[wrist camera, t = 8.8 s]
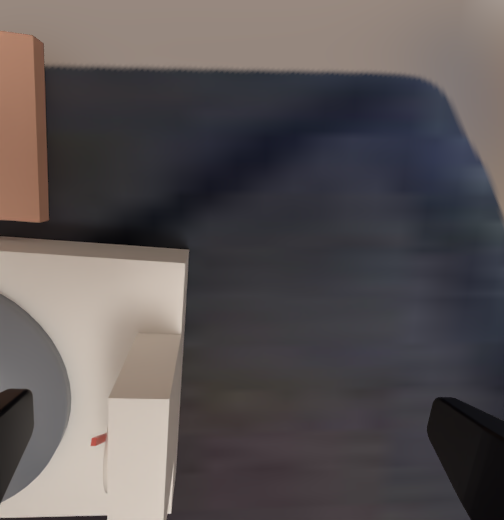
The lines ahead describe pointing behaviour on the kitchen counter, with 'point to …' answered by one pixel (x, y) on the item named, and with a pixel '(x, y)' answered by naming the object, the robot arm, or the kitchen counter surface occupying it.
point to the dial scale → (94, 375)
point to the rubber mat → (23, 129)
